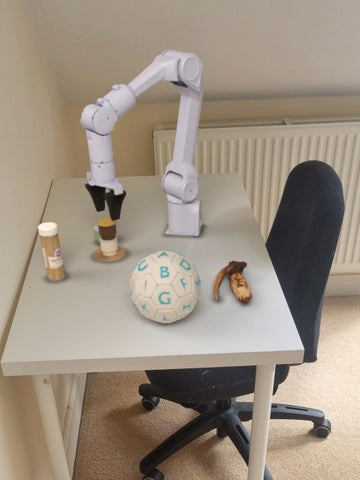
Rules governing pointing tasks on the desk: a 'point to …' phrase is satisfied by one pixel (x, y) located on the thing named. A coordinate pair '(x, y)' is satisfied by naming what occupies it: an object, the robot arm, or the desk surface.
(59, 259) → the sprinkles bottle
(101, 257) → the coaster
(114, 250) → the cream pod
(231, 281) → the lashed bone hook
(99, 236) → the cylinder
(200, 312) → the desk surface
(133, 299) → the puzzle ball
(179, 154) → the robot arm
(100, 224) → the brown pod
